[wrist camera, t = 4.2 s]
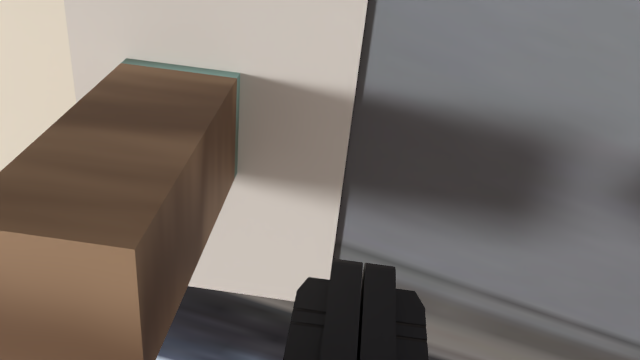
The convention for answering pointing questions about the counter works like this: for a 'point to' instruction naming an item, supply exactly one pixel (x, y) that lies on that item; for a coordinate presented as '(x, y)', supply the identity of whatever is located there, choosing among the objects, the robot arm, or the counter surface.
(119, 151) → the walnut block
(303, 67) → the cream flat rectangular panel
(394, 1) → the counter surface
